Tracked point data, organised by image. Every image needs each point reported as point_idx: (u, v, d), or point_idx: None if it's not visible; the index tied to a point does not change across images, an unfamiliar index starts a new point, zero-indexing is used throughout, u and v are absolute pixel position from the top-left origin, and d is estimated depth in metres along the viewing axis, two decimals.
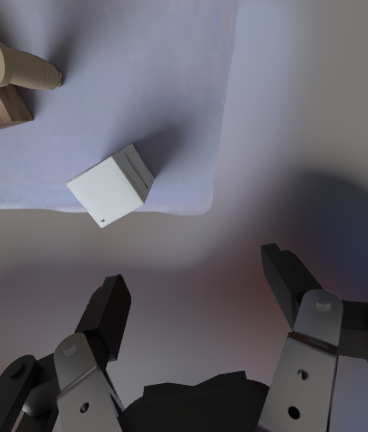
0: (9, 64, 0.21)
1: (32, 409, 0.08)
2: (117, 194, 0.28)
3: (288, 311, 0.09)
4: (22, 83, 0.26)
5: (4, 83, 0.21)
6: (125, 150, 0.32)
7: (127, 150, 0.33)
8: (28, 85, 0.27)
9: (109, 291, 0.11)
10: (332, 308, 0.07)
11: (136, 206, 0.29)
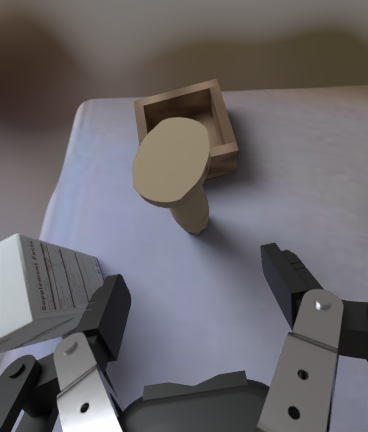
0: (159, 205, 0.15)
1: (32, 409, 0.08)
2: None
3: (288, 311, 0.09)
4: None
5: None
6: (80, 316, 0.21)
7: None
8: None
9: (109, 291, 0.11)
10: (332, 308, 0.07)
11: None
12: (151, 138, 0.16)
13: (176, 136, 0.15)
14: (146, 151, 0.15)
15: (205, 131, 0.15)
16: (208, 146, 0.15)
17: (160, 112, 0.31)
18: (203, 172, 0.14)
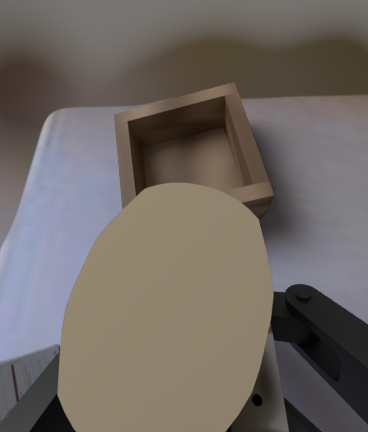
0: None
1: None
2: None
3: None
4: None
5: None
6: None
7: None
8: None
9: None
10: None
11: None
12: (114, 239, 0.06)
13: (178, 239, 0.06)
14: (100, 278, 0.06)
15: (256, 228, 0.06)
16: (268, 277, 0.05)
17: (153, 129, 0.22)
18: None
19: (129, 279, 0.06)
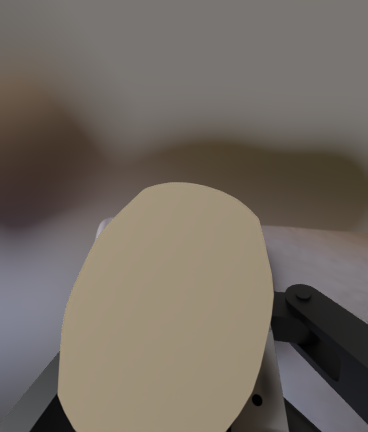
0: None
1: None
2: None
3: None
4: None
5: None
6: None
7: None
8: None
9: None
10: None
11: None
12: (115, 239, 0.06)
13: (178, 238, 0.06)
14: (100, 277, 0.06)
15: (256, 228, 0.06)
16: (269, 277, 0.05)
17: None
18: None
19: (129, 279, 0.06)
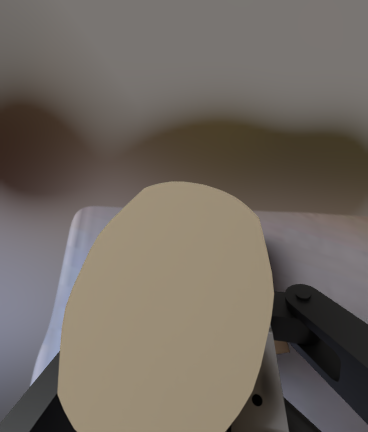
0: None
1: None
2: None
3: None
4: None
5: None
6: None
7: None
8: None
9: None
10: None
11: None
12: (115, 238, 0.06)
13: (178, 238, 0.06)
14: (100, 277, 0.06)
15: (256, 227, 0.06)
16: (269, 277, 0.05)
17: None
18: None
19: (129, 278, 0.06)
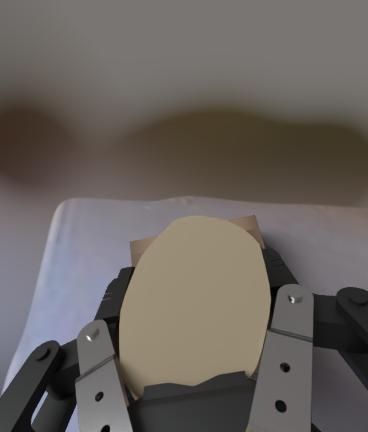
0: None
1: (54, 393, 0.09)
2: None
3: None
4: None
5: None
6: None
7: None
8: None
9: (125, 282, 0.12)
10: (303, 301, 0.08)
11: None
12: (154, 258, 0.08)
13: (201, 258, 0.08)
14: (145, 288, 0.08)
15: (258, 251, 0.08)
16: (267, 287, 0.07)
17: None
18: None
19: (166, 288, 0.08)
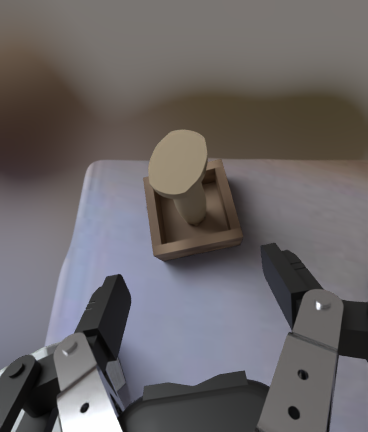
0: (169, 197, 0.19)
1: (32, 409, 0.08)
2: None
3: (288, 311, 0.09)
4: None
5: (152, 187, 0.20)
6: None
7: None
8: None
9: (109, 291, 0.11)
10: (332, 308, 0.07)
11: None
12: (161, 146, 0.20)
13: (181, 144, 0.20)
14: (158, 156, 0.20)
15: (203, 140, 0.20)
16: (206, 152, 0.19)
17: None
18: (202, 171, 0.19)
19: (167, 156, 0.20)
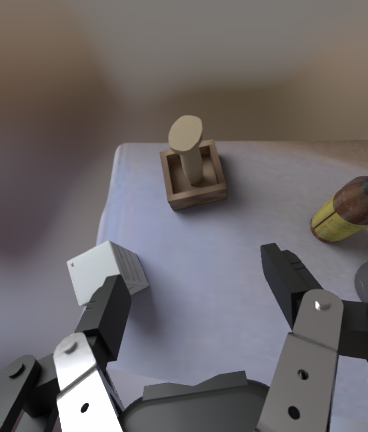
0: (180, 153, 0.34)
1: (32, 409, 0.08)
2: (91, 283, 0.32)
3: (288, 311, 0.09)
4: None
5: (171, 148, 0.34)
6: (136, 286, 0.37)
7: (137, 286, 0.38)
8: (181, 162, 0.41)
9: (109, 291, 0.11)
10: (332, 308, 0.07)
11: (78, 298, 0.32)
12: (176, 125, 0.35)
13: (187, 124, 0.34)
14: (174, 130, 0.34)
15: (200, 121, 0.34)
16: (201, 127, 0.34)
17: (177, 158, 0.48)
18: (199, 138, 0.33)
19: (179, 130, 0.34)
